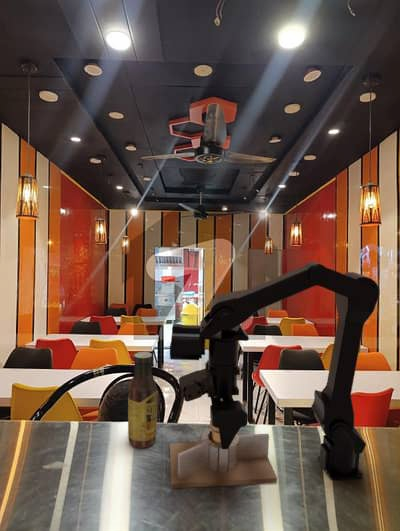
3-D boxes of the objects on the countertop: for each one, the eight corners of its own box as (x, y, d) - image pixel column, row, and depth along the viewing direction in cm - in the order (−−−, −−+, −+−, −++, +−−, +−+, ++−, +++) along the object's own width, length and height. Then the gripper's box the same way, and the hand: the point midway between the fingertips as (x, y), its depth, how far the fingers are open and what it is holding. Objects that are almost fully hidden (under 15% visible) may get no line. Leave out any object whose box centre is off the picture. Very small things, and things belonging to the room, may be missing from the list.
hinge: (262, 445, 78) (263, 424, 78) (275, 475, 69) (276, 451, 69) (176, 449, 76) (176, 427, 76) (177, 480, 67) (178, 455, 67)
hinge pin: (228, 451, 76) (230, 416, 75) (233, 466, 71) (235, 428, 70) (206, 452, 75) (208, 416, 74) (210, 467, 71) (211, 429, 70)
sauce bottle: (151, 451, 77) (151, 362, 74) (123, 447, 78) (122, 359, 76) (160, 433, 83) (161, 351, 81) (134, 430, 85) (134, 348, 82)
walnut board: (260, 443, 81) (260, 439, 80) (276, 482, 69) (277, 477, 69) (169, 447, 78) (169, 443, 78) (171, 488, 67) (171, 483, 67)
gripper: (179, 344, 79) (178, 411, 81) (184, 382, 61) (183, 468, 63) (229, 343, 80) (227, 409, 82) (249, 381, 62) (246, 465, 64)
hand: (220, 434), depth 73 cm, fingers open, 9 cm apart
